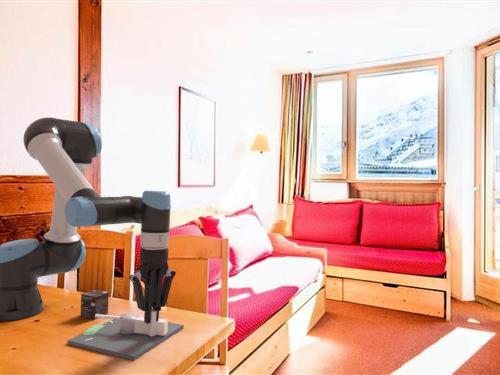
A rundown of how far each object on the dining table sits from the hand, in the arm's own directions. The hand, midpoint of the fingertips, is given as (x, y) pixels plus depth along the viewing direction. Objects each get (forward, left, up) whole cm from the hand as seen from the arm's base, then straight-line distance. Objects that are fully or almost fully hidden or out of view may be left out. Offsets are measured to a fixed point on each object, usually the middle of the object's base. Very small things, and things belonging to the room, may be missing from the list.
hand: (150, 334), depth 99 cm
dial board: (-8, +1, -2) cm, 8 cm away
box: (-29, +9, -2) cm, 30 cm away
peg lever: (-8, +1, -1) cm, 8 cm away
